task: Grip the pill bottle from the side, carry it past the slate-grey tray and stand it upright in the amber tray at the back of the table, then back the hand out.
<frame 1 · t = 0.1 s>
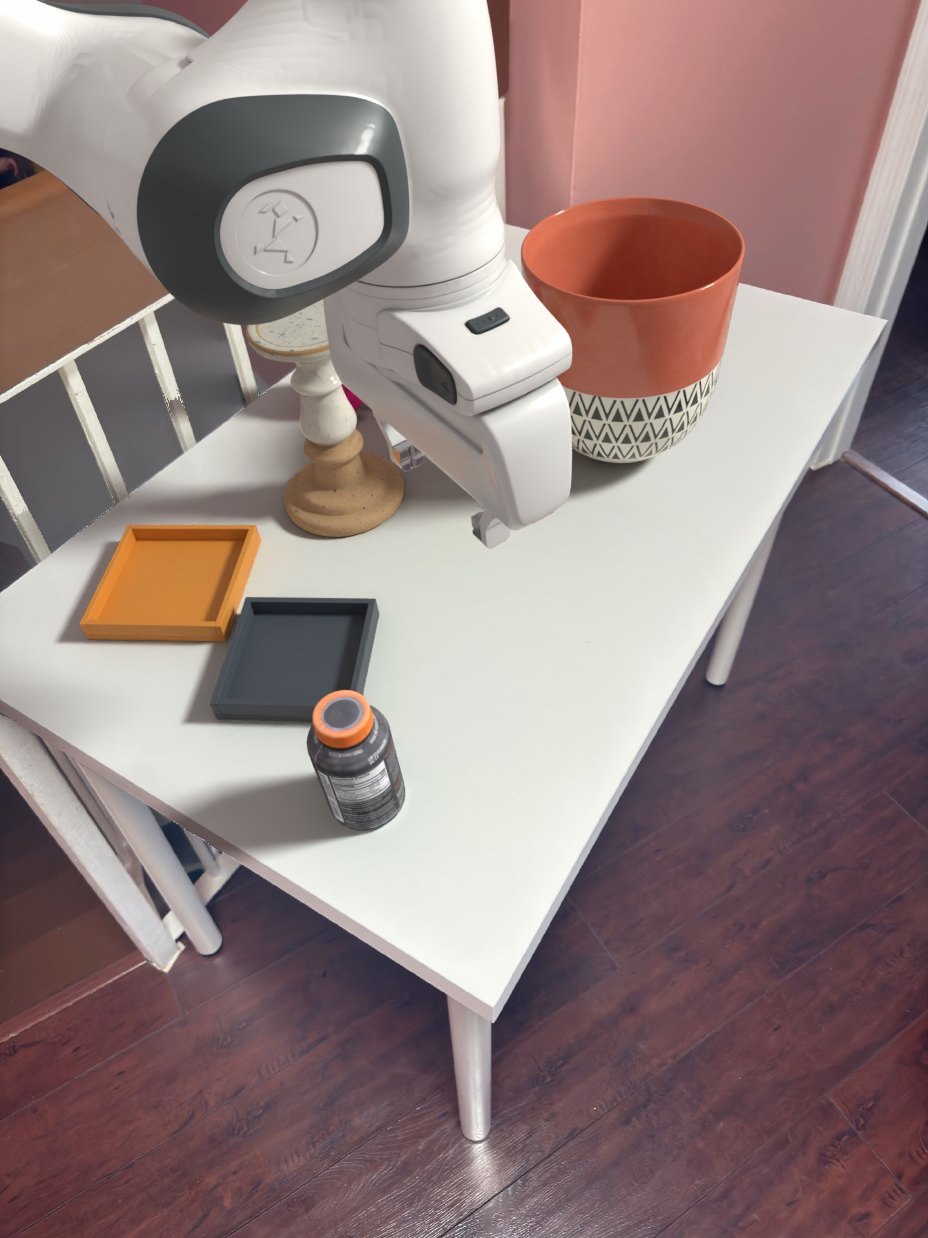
hand: (448, 499, 58), 22 cm above the table, tool pointing down, fingers open, 8 cm apart
pepper mill: (337, 402, 105), on the table
amber tray: (178, 587, 87), on the table
slate tray: (301, 664, 79), on the table
pill bottle: (368, 800, 70), on the table
candle holder: (346, 499, 94), on the table
planter: (619, 442, 96), on the table
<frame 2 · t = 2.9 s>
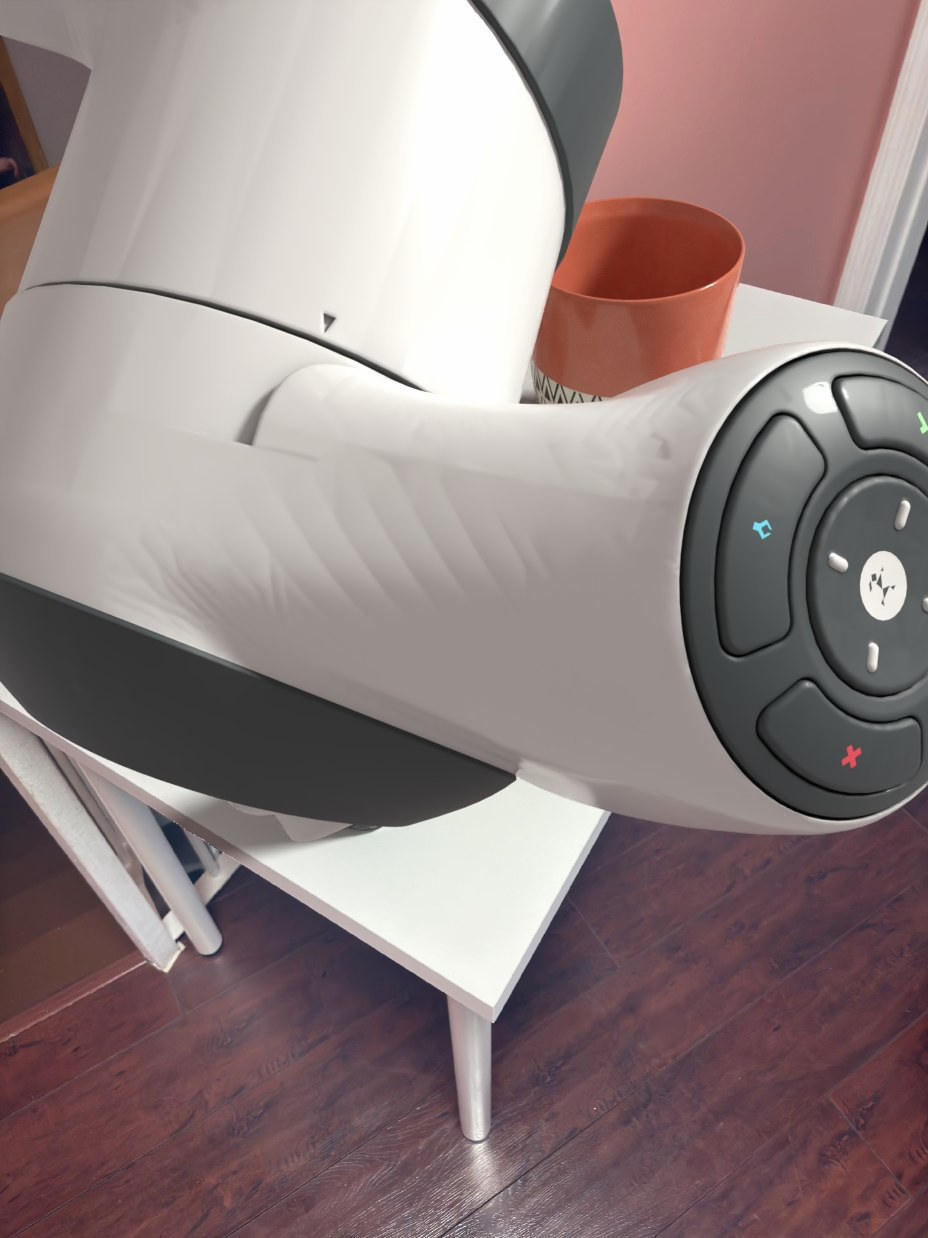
hand: (400, 632, 41), 29 cm above the table, tool tilted 45°, fingers open, 8 cm apart
nothing on the table moved.
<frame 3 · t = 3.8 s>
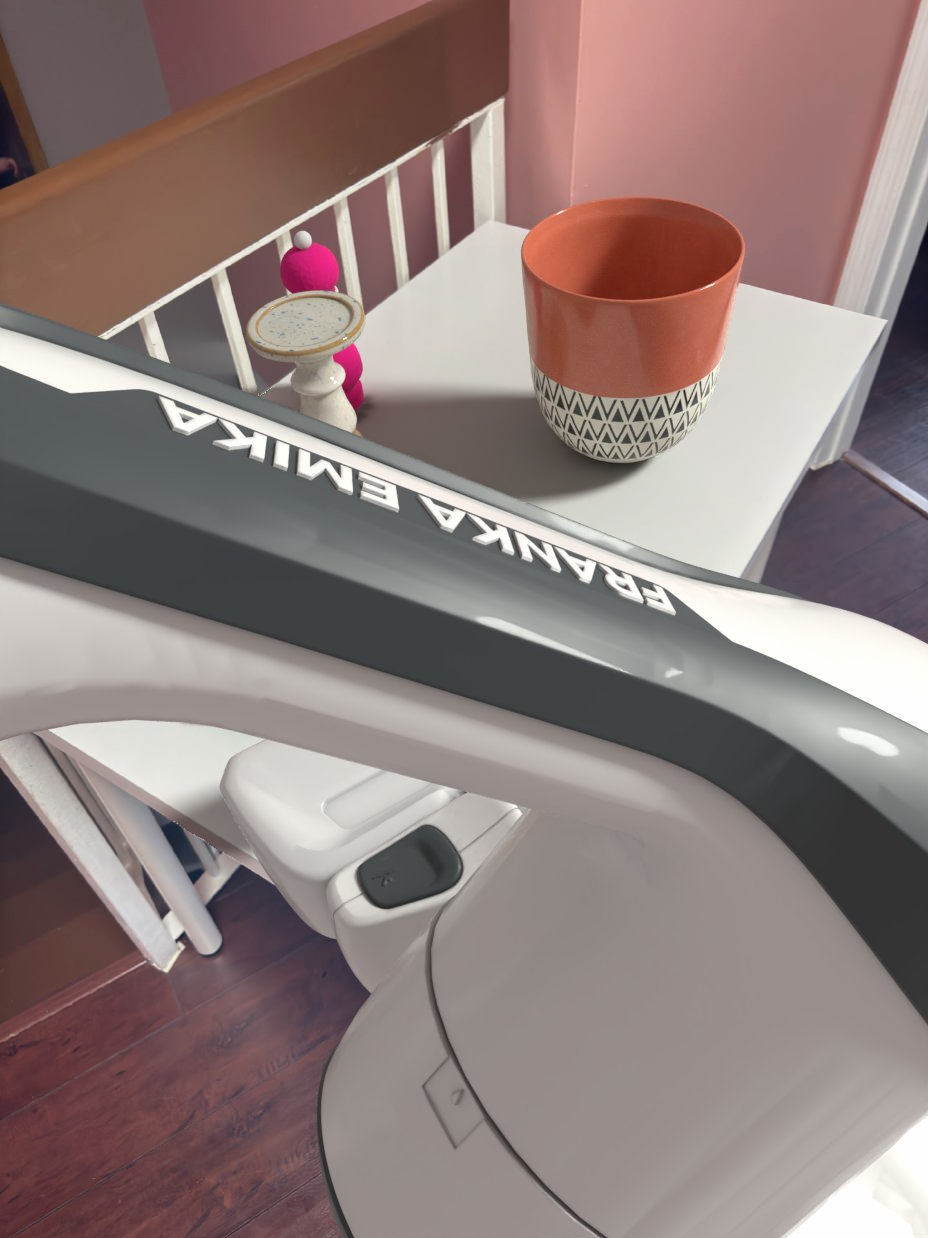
hand: (391, 607, 41), 30 cm above the table, tool horizontal, fingers open, 8 cm apart
nothing on the table moved.
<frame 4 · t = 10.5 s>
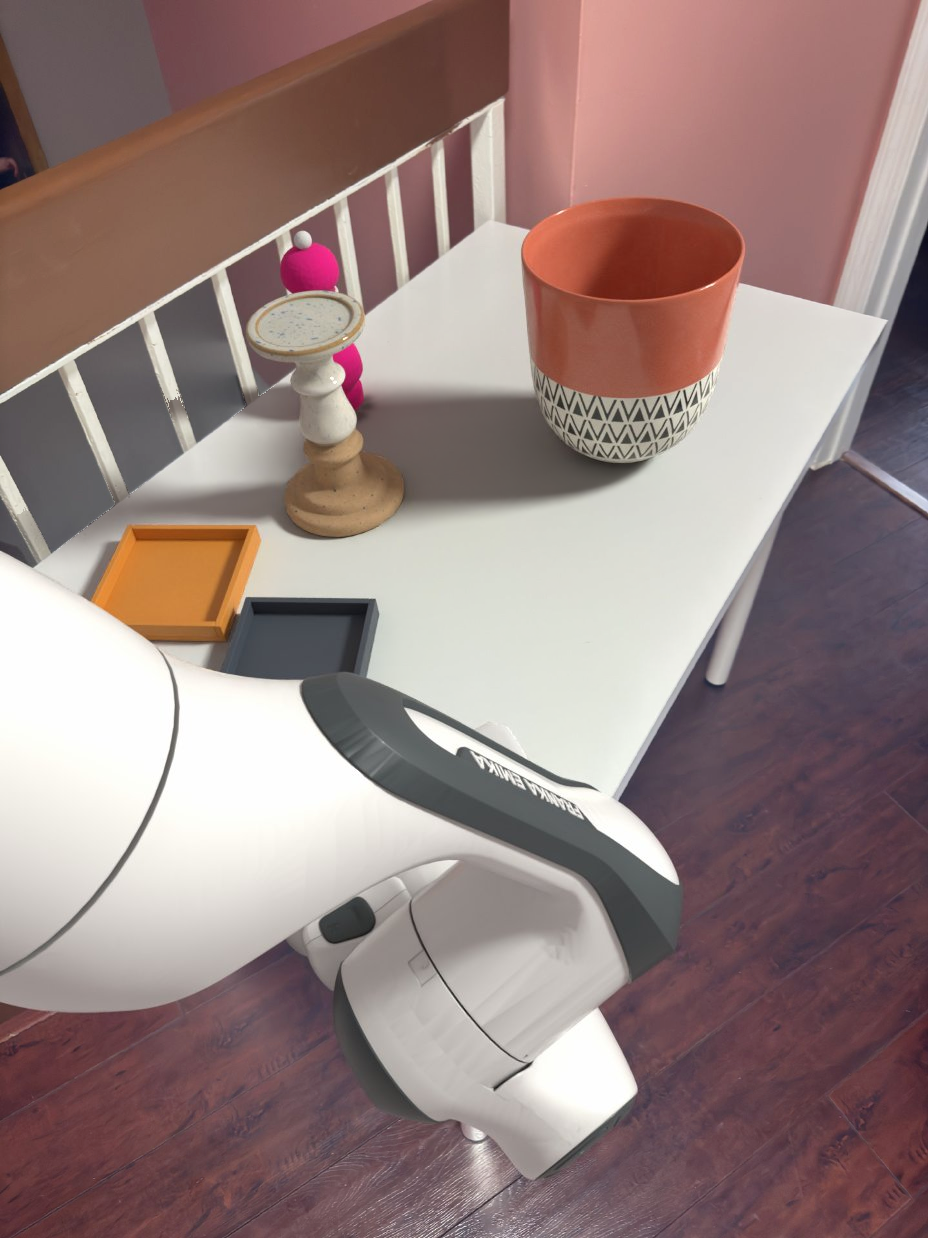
hand: (348, 747, 66), 6 cm above the table, tool horizontal, fingers closed on pill bottle, 6 cm apart
pill bottle: (368, 800, 70), on the table, touching gripper
everything else where it was.
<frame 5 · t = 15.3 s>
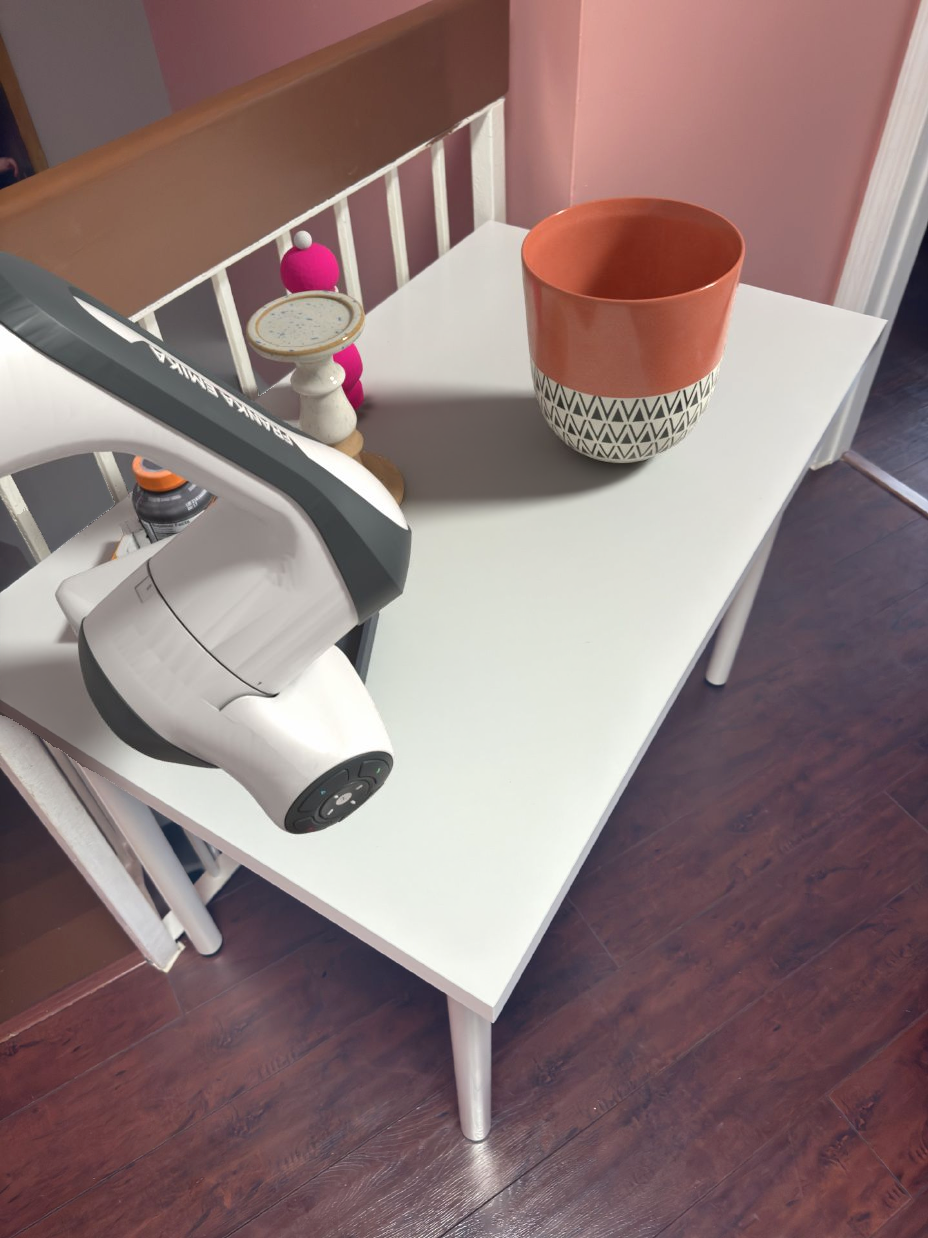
hand: (178, 508, 68), 17 cm above the table, tool horizontal, fingers closed on pill bottle, 6 cm apart
pill bottle: (206, 573, 72), point 11 cm above the table, touching gripper
everything else where it was.
when the fingers open (7 cm above the table, at t = 20.2 s): pill bottle stays where it is, resting on amber tray.
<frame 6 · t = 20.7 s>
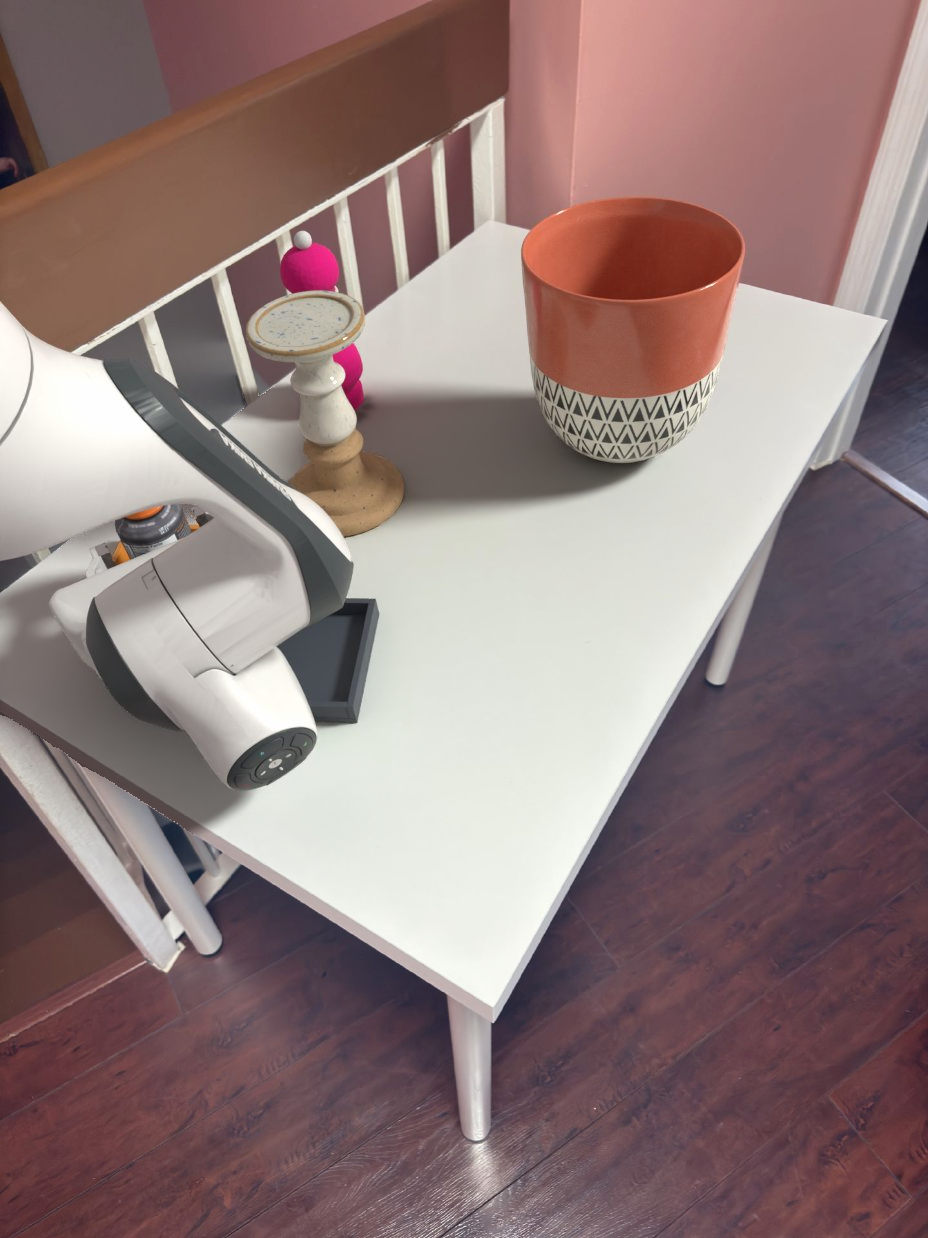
hand: (150, 530, 82), 7 cm above the table, tool horizontal, fingers open, 8 cm apart
pill bottle: (179, 584, 86), resting on amber tray
everything else where it was.
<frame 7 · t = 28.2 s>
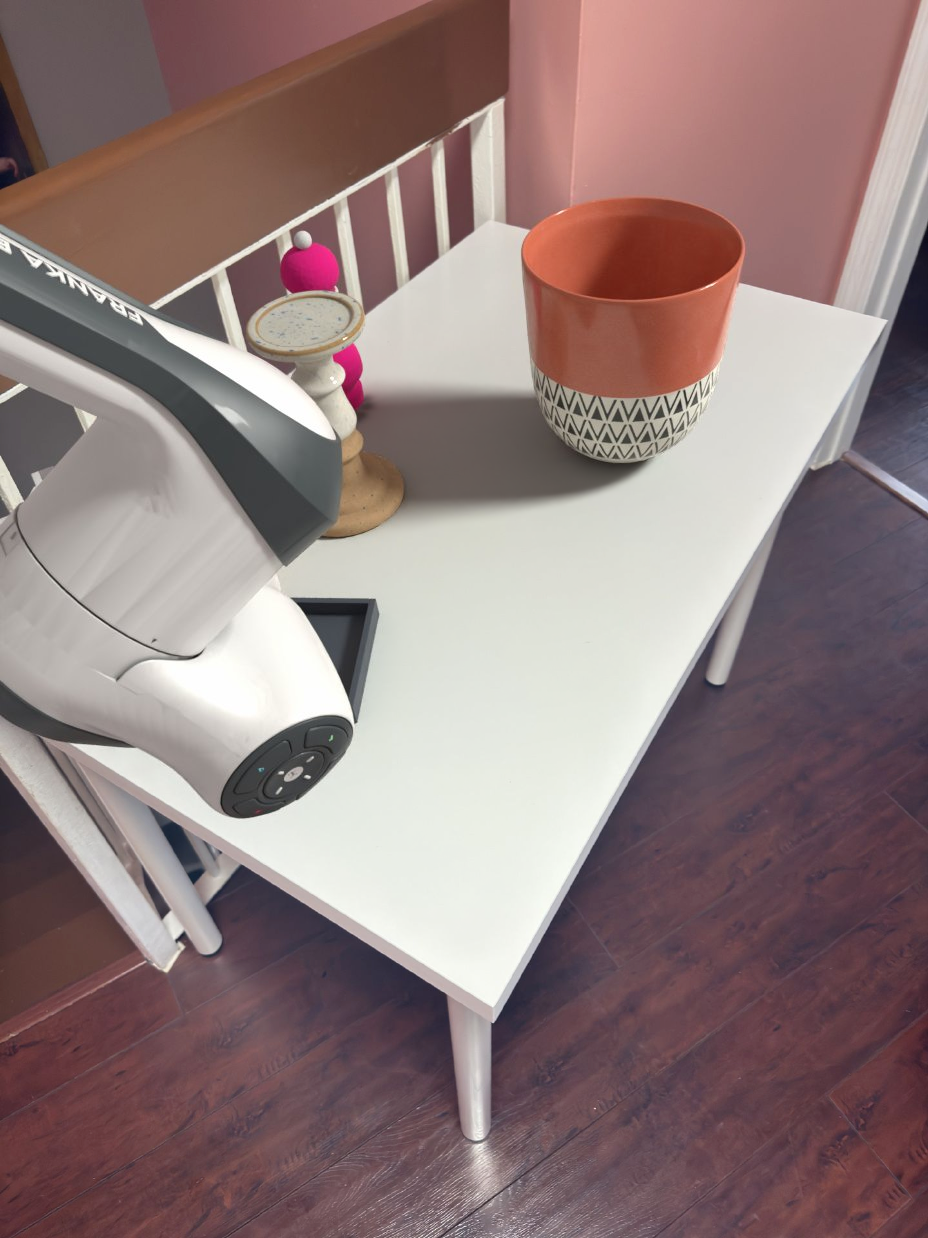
hand: (117, 450, 60), 25 cm above the table, tool horizontal, fingers open, 8 cm apart
nothing on the table moved.
at the end: pill bottle inside the target area in the amber tray (0.2 cm from its centre), point 0.4 cm above the amber tray's base; pill bottle tilted 0°; the gripper is holding nothing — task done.
